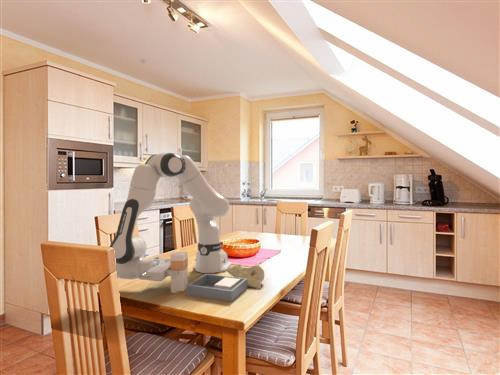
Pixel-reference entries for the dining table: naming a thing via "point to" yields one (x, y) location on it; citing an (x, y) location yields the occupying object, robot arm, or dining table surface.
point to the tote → (207, 290)
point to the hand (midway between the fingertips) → (181, 270)
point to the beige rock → (248, 274)
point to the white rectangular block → (227, 283)
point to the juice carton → (179, 263)
